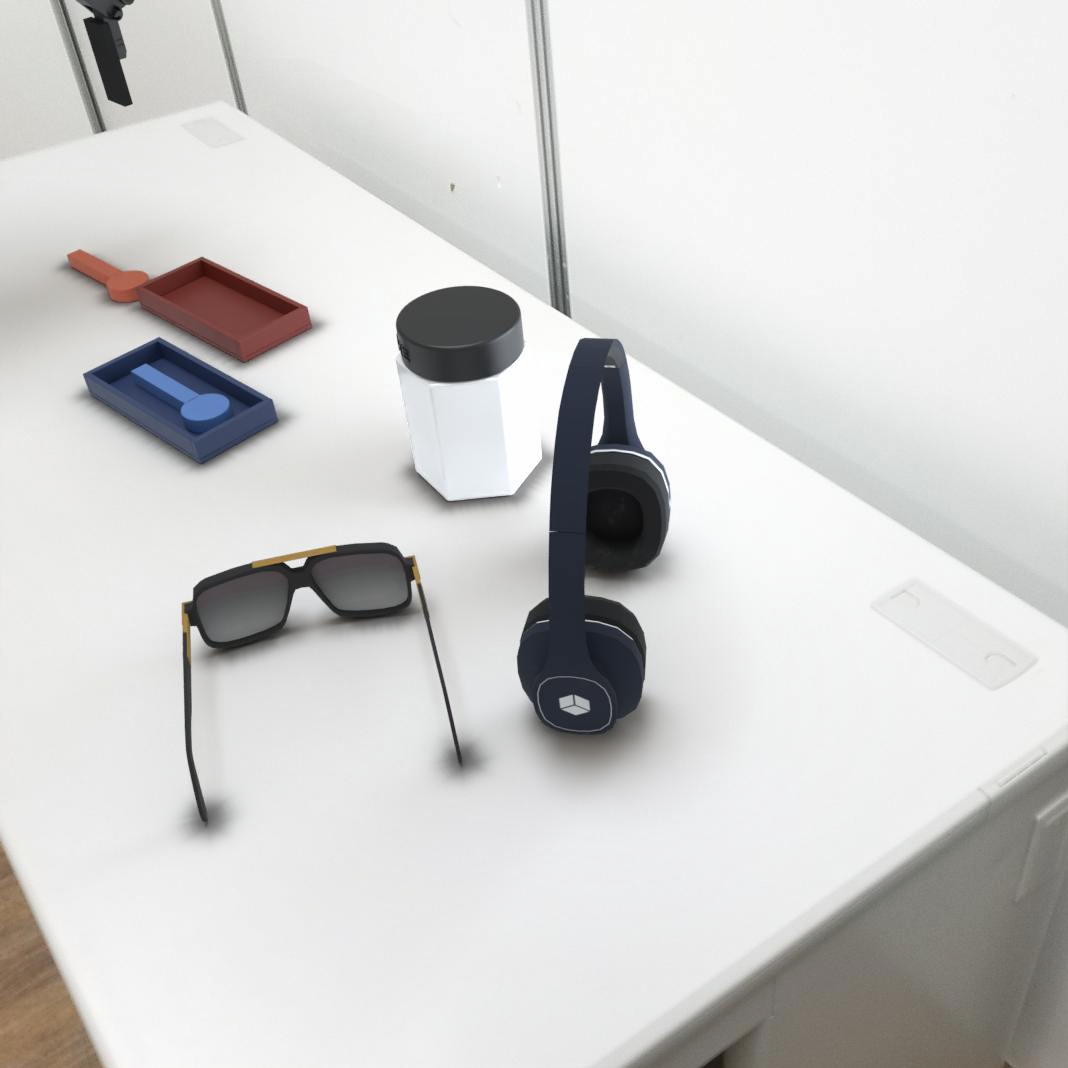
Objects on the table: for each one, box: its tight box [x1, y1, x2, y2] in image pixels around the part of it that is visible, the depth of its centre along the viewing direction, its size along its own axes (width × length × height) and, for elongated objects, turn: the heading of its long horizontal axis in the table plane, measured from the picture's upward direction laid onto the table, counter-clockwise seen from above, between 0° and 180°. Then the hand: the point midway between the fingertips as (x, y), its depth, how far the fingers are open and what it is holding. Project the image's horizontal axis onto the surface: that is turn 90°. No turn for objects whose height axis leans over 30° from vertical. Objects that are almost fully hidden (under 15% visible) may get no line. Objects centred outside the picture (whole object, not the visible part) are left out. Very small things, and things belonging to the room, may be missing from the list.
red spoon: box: [66, 248, 150, 303], centre depth 111 cm, size 11×4×1 cm, turn 48°
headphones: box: [516, 337, 672, 736], centre depth 69 cm, size 20×7×18 cm, turn 172°
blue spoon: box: [131, 364, 233, 433], centre depth 94 cm, size 11×4×1 cm, turn 48°
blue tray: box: [82, 336, 279, 465], centre depth 95 cm, size 15×7×2 cm, turn 48°
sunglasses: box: [181, 541, 463, 823], centre depth 70 cm, size 14×15×5 cm
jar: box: [394, 285, 543, 502], centre depth 84 cm, size 9×8×12 cm
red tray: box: [134, 256, 313, 363], centre depth 105 cm, size 15×7×2 cm, turn 48°
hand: (47, 128), depth 101 cm, fingers open, 13 cm apart
